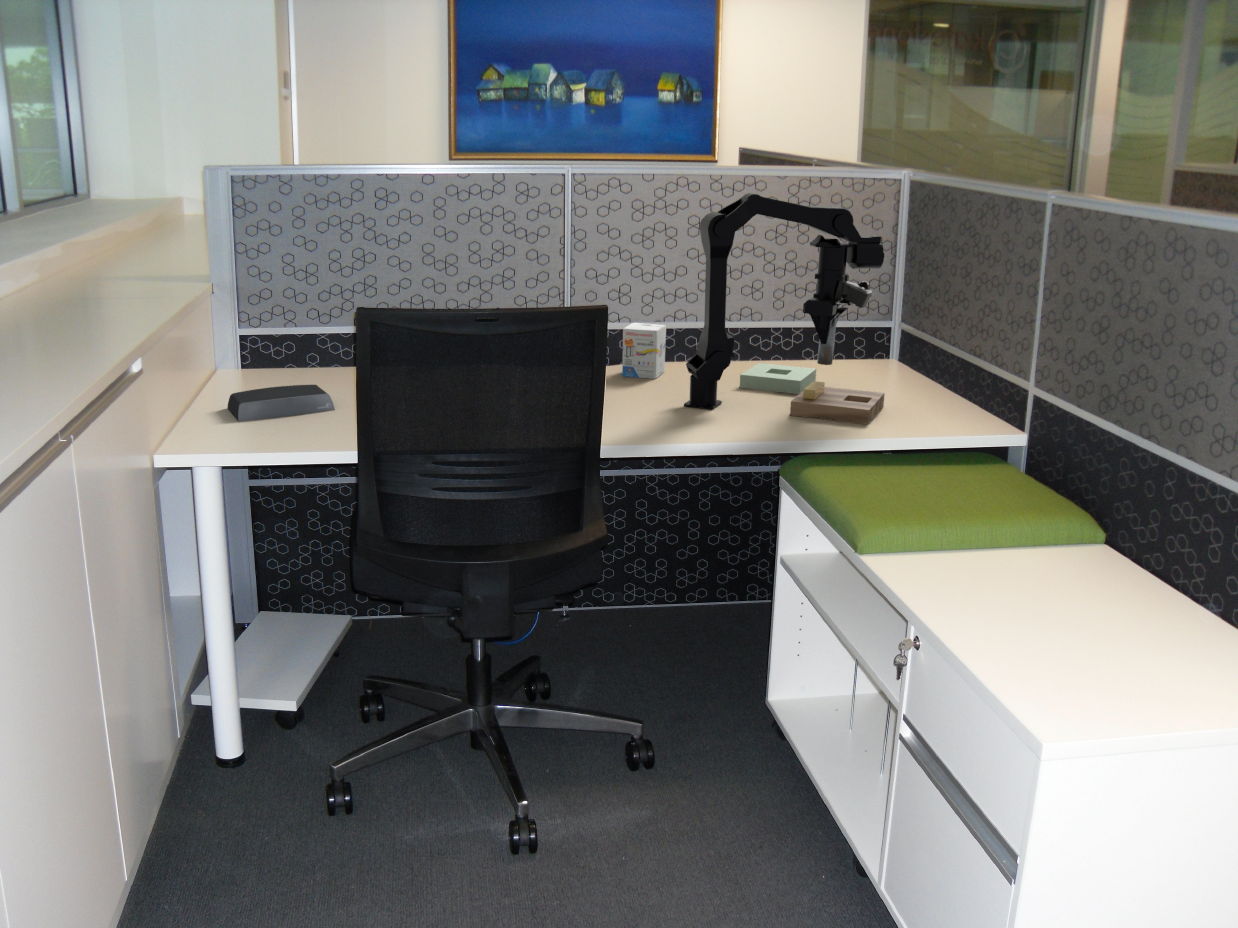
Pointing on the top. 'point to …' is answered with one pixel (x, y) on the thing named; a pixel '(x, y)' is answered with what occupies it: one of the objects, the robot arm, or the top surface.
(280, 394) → the external hard drive
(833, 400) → the socket block
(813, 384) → the yellow wooden bar
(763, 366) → the green slotted base
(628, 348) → the ink box
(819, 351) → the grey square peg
